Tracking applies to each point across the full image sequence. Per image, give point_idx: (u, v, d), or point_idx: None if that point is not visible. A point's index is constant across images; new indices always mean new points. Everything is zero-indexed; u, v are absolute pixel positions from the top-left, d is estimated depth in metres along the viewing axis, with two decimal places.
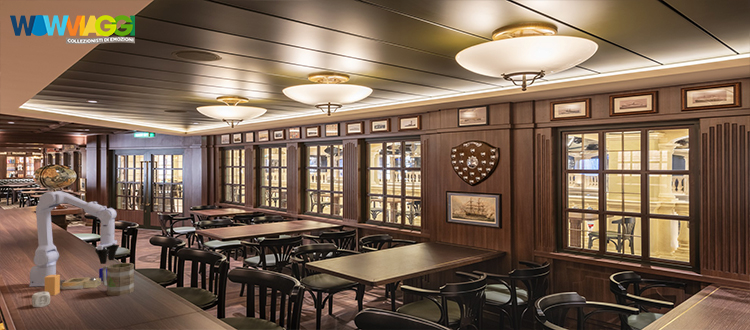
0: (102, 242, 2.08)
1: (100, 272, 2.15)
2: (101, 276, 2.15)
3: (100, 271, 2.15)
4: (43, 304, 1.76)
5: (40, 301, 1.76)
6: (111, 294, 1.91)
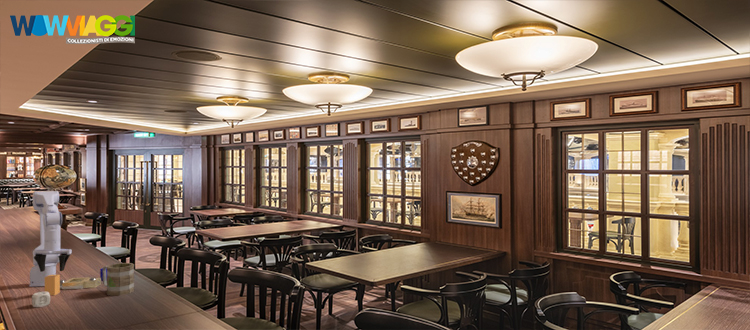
0: None
1: (101, 272, 2.15)
2: (102, 276, 2.14)
3: (101, 271, 2.15)
4: (43, 304, 1.76)
5: (40, 301, 1.76)
6: (111, 294, 1.91)
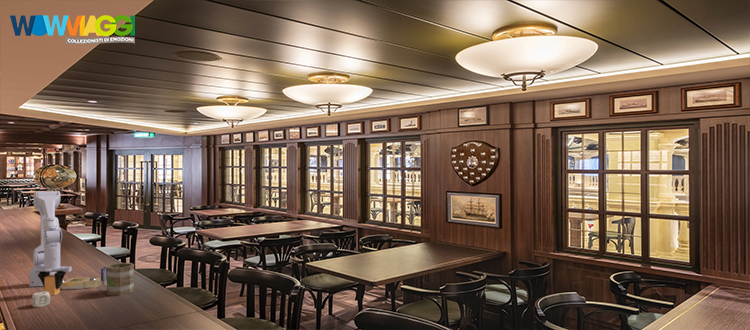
0: None
1: (102, 272, 2.15)
2: None
3: None
4: (43, 304, 1.76)
5: (40, 301, 1.76)
6: (111, 294, 1.91)
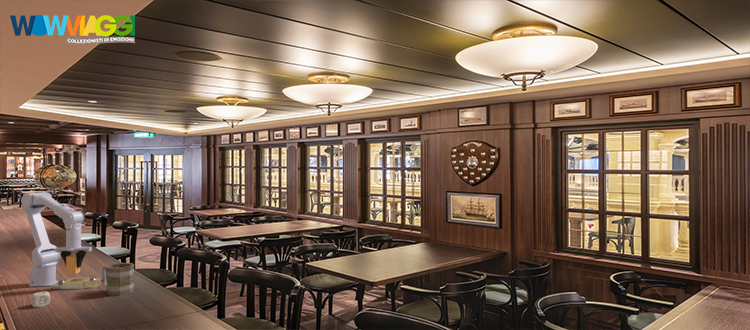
0: None
1: None
2: None
3: None
4: (43, 304, 1.76)
5: (40, 301, 1.76)
6: (111, 294, 1.91)
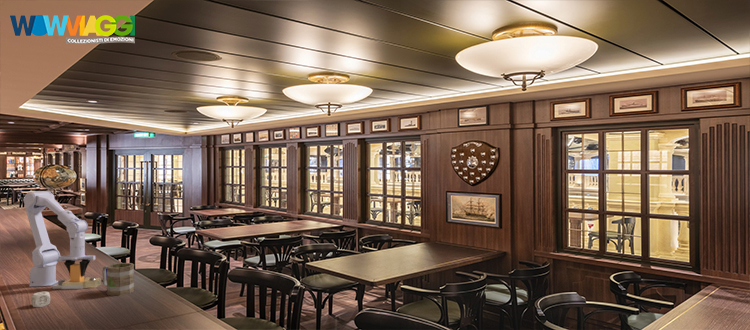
0: None
1: None
2: (106, 276, 2.14)
3: None
4: (43, 304, 1.76)
5: (40, 301, 1.76)
6: (111, 294, 1.91)
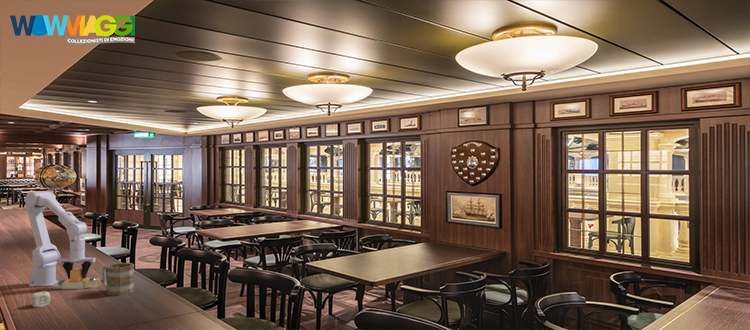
0: None
1: (106, 272, 2.14)
2: None
3: (106, 271, 2.14)
4: (43, 304, 1.76)
5: (40, 301, 1.76)
6: (111, 294, 1.91)
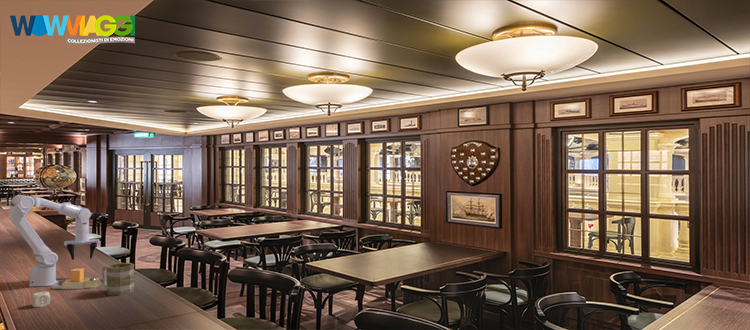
0: None
1: None
2: None
3: None
4: (43, 304, 1.76)
5: (40, 301, 1.76)
6: (111, 294, 1.91)
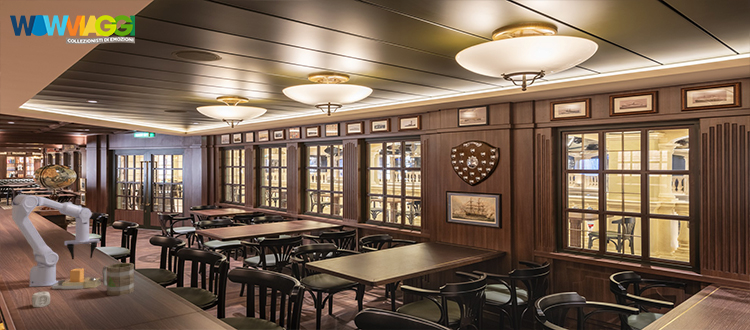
0: None
1: None
2: None
3: None
4: (43, 304, 1.76)
5: (40, 301, 1.76)
6: (111, 294, 1.91)
